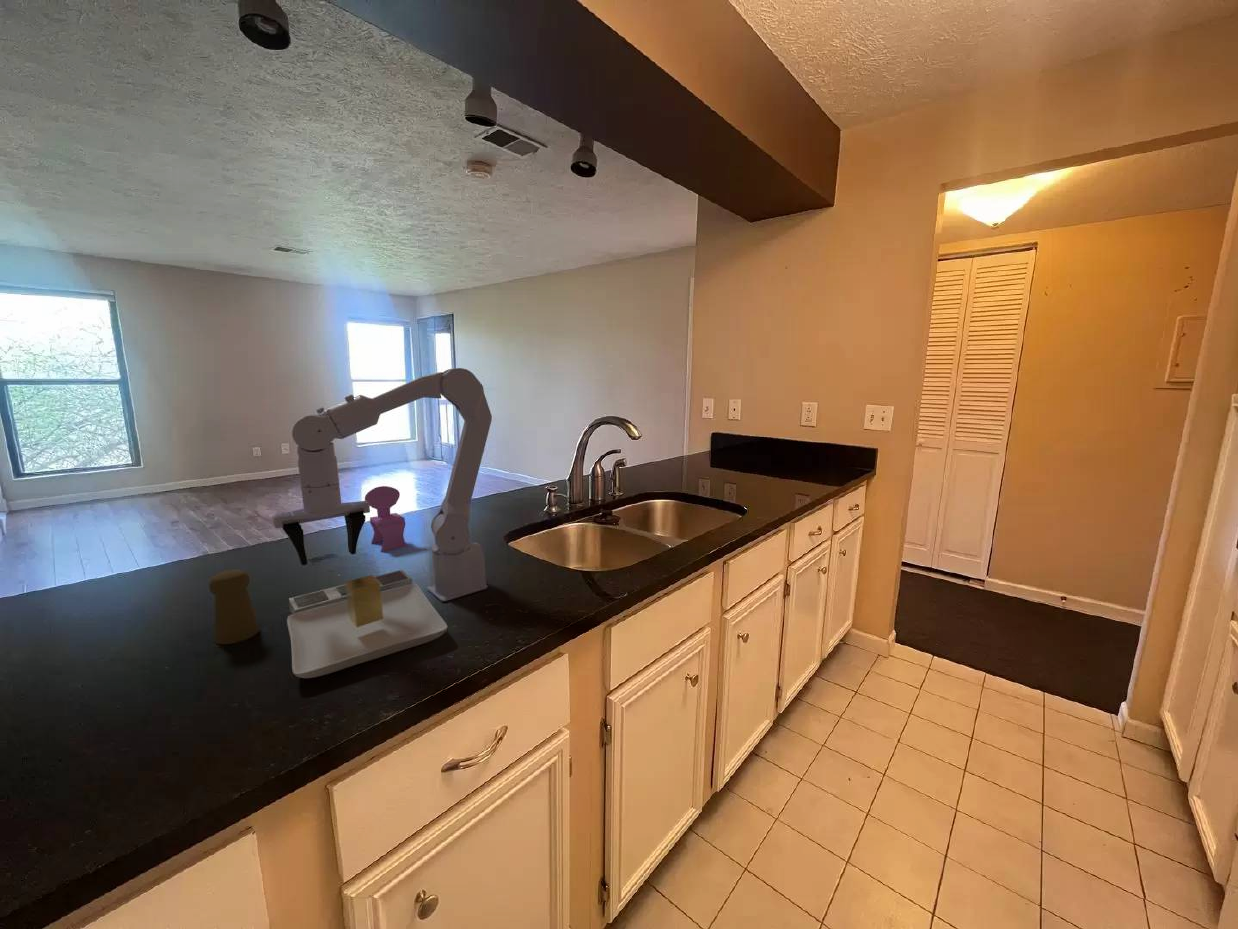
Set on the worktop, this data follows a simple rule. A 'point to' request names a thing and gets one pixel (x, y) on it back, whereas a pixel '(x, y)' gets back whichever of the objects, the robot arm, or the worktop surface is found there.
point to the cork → (233, 607)
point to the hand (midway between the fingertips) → (328, 558)
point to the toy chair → (386, 518)
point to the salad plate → (361, 632)
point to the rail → (344, 592)
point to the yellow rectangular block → (364, 600)
